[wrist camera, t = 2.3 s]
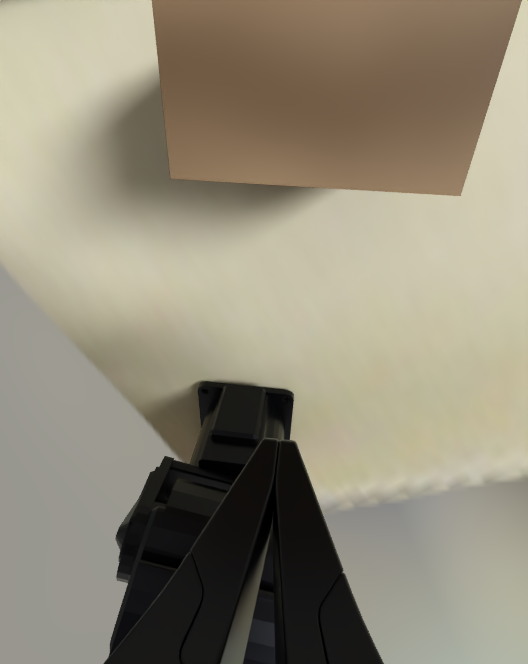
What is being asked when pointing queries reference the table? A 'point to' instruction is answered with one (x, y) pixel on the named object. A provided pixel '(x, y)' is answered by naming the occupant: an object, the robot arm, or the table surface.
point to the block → (329, 90)
